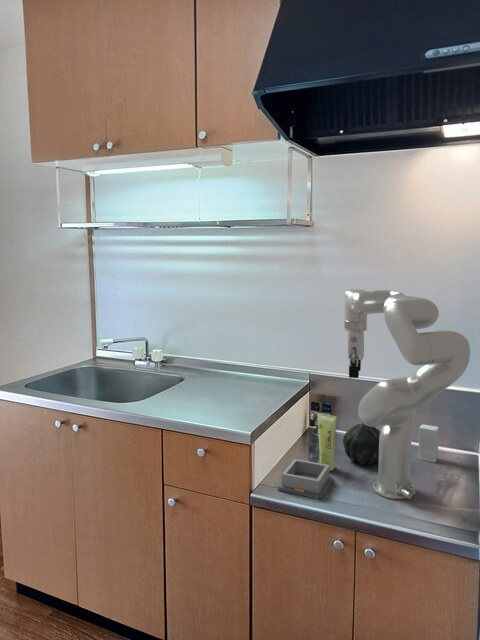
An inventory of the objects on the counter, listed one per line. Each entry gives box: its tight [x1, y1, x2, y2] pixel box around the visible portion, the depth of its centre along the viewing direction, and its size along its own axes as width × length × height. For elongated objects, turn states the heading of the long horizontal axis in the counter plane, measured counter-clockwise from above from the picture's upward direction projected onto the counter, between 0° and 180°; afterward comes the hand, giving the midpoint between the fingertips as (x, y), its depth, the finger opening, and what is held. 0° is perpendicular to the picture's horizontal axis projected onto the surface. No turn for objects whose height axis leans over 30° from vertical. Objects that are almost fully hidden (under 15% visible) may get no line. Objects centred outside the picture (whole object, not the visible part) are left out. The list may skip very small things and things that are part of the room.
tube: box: [316, 412, 338, 472], centre depth 171 cm, size 6×5×20 cm
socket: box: [277, 458, 334, 499], centre depth 160 cm, size 14×14×5 cm
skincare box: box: [417, 424, 440, 463], centre depth 177 cm, size 6×4×12 cm
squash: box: [342, 422, 381, 465], centre depth 177 cm, size 14×15×15 cm
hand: (354, 373), depth 174 cm, fingers open, 9 cm apart
